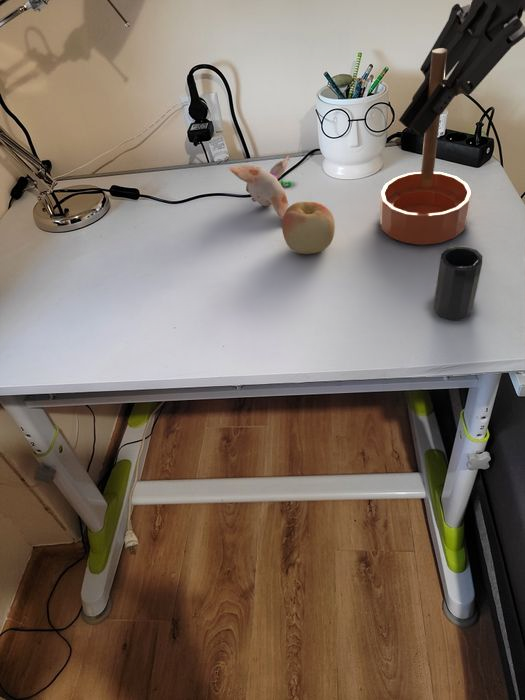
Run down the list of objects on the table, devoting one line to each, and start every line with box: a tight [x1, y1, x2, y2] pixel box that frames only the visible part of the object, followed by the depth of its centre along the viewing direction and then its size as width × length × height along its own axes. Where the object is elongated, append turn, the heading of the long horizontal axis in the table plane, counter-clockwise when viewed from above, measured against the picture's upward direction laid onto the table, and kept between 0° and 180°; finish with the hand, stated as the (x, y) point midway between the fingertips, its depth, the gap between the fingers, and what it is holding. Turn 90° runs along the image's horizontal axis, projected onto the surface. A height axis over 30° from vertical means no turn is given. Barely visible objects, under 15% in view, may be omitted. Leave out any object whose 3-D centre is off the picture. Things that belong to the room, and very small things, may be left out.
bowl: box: [379, 171, 473, 246], centre depth 87 cm, size 14×14×6 cm
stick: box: [420, 48, 447, 188], centre depth 77 cm, size 2×2×20 cm
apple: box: [281, 201, 336, 255], centre depth 86 cm, size 9×9×8 cm
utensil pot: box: [433, 245, 483, 322], centre depth 70 cm, size 5×5×9 cm
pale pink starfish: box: [228, 155, 293, 221], centre depth 99 cm, size 15×8×15 cm
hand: (410, 128), depth 76 cm, fingers closed on stick, 2 cm apart
